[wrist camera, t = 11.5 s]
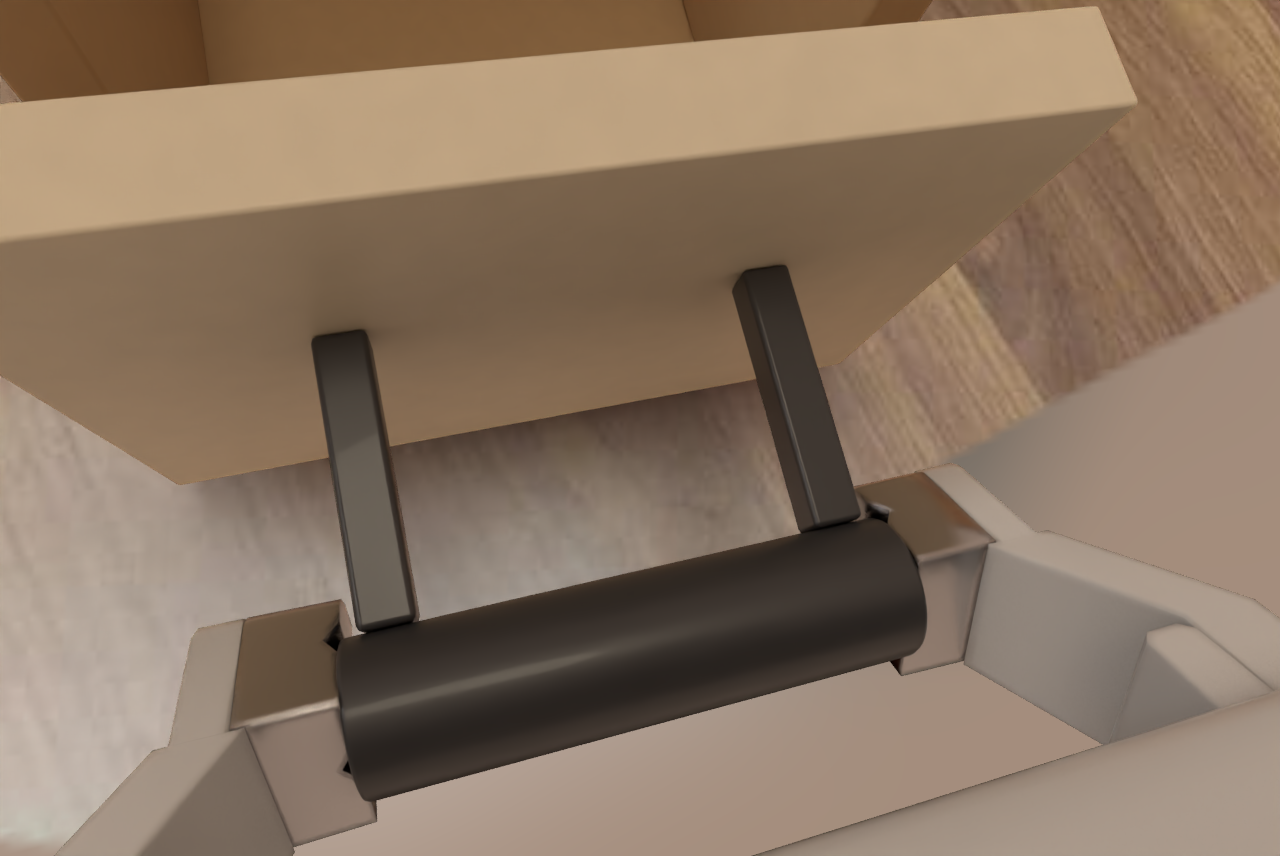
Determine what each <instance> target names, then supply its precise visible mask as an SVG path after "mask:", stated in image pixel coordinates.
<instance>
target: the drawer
mask: <svg viewBox="0 0 1280 856" xmlns="http://www.w3.org/2000/svg"><path fill="white" fill-rule="evenodd" d="M931 2H932V0H0V75H1V76H2V78H3V79H4V80H5V81H6V83H7V84H8V85H9V86H10V87H11V89H12V90H13V91H14V92H15V94H16V95H17V96H18V97H19V99H20V100H21V101H22V102H16V103H5V104H0V376H2V377H3V378H5V379H7V380H8V381H10V382H12V383H13V384H15V385H17V386H18V387H20V388H21V389H23V390H25V391H26V392H28V393H30V394H31V395H33V396H34V397H36V398H38V399H39V400H41V401H43V402H44V403H46V404H48V405H49V406H51V407H52V408H54V409H56V410H57V411H59V412H61V413H62V414H64V415H65V416H67V417H69V418H70V419H72V420H74V421H75V422H77V423H78V424H80V425H82V426H83V427H85V428H87V429H88V430H90V431H92V432H93V433H95V434H96V435H98V436H100V437H101V438H103V439H105V440H106V441H108V442H109V443H111V444H113V445H114V446H116V447H118V448H119V449H121V450H122V451H124V452H126V453H127V454H129V455H131V456H132V457H134V458H136V459H137V460H139V461H140V462H142V463H144V464H145V465H147V466H149V467H150V468H152V469H153V470H155V471H157V472H158V473H160V474H162V475H163V476H165V477H166V478H168V479H170V480H171V481H173V482H175V483H176V484H178V485H183V484H189V483H194V482H200V481H205V480H210V479H216V478H221V477H227V476H232V475H238V474H243V473H248V472H254V471H259V470H265V469H270V468H276V467H281V466H287V465H292V464H297V463H303V462H308V461H314V460H319V459H325V458H329V461H330V467H331V474H332V480H333V486H334V492H335V498H336V505H337V511H338V517H339V523H340V530H341V536H342V542H343V548H344V555H345V561H346V567H347V573H348V579H349V586H350V592H351V598H352V604H353V611H354V617H355V623H356V627H357V628H358V630H359V631H361V632H364V634H360V635H356V636H351V637H347V638H344V639H343V640H341V641H340V642H339V645H338V650H337V657H336V680H337V686H338V690H339V700H340V708H341V709H340V720H341V727H342V733H343V738H344V744H345V749H346V753H347V758H348V762H349V766H350V770H351V773H352V777H353V780H354V783H355V786H356V788H357V790H358V792H359V794H360V796H361V797H362V799H363V800H364V801H367V802H372V801H376V800H380V799H383V798H387V797H391V796H395V795H398V794H402V793H405V792H409V791H413V790H417V789H420V788H424V787H428V786H431V785H435V784H439V783H442V782H446V781H449V780H453V779H457V778H461V777H465V776H468V775H472V774H476V773H479V772H483V771H487V770H490V769H494V768H498V767H501V766H505V765H509V764H512V763H516V762H520V761H524V760H527V759H531V758H534V757H538V756H542V755H546V754H549V753H553V752H557V751H560V750H564V749H567V748H571V747H575V746H578V745H582V744H586V743H590V742H594V741H597V740H601V739H604V738H608V737H612V736H616V735H619V734H623V733H626V732H630V731H634V730H637V729H641V728H645V727H649V726H652V725H656V724H660V723H664V722H667V721H670V720H675V719H678V718H681V717H685V716H689V715H693V714H697V713H700V712H704V711H708V710H711V709H715V708H719V707H722V706H726V705H729V704H733V703H737V702H741V701H745V700H748V699H752V698H756V697H759V696H763V695H766V694H770V693H774V692H777V691H781V690H785V689H789V688H792V687H796V686H800V685H804V684H807V683H810V682H814V681H818V680H822V679H825V678H829V677H833V676H837V675H840V674H844V673H847V672H851V671H855V670H859V669H862V668H866V667H869V666H873V665H877V664H881V663H884V662H888V661H892V660H896V659H899V658H903V657H907V656H910V655H912V654H914V653H915V652H916V651H917V650H918V649H919V648H920V647H921V645H922V644H923V641H924V639H925V635H926V631H927V605H926V598H925V593H924V588H923V585H922V581H921V578H920V575H919V572H918V569H917V566H916V564H915V562H914V559H913V557H912V555H911V553H910V551H909V550H908V548H907V546H906V544H905V543H904V542H903V540H902V539H901V537H900V536H899V535H898V534H897V532H896V531H895V530H894V529H893V528H892V527H891V526H889V525H888V524H887V523H885V522H883V521H882V520H879V519H875V518H866V519H862V520H858V521H854V520H856V519H858V518H859V517H860V516H861V511H860V507H859V504H858V501H857V497H856V494H855V491H854V487H853V484H852V481H851V477H850V474H849V471H848V467H847V464H846V461H845V457H844V454H843V451H842V447H841V444H840V441H839V437H838V434H837V431H836V427H835V424H834V421H833V417H832V414H831V410H830V407H829V404H828V400H827V397H826V394H825V390H824V387H823V384H822V380H821V377H820V374H819V370H818V368H820V367H825V366H830V365H836V364H839V363H841V362H842V361H843V360H844V359H845V358H846V357H848V356H849V355H850V354H851V353H852V352H853V351H855V350H856V349H857V348H858V347H859V346H860V345H861V344H863V343H864V342H865V341H866V340H867V339H868V338H869V337H871V336H872V335H873V334H874V333H875V332H876V331H877V330H879V329H880V328H881V327H882V326H883V325H884V324H886V323H887V322H888V321H889V320H890V319H891V318H892V317H894V316H895V315H896V314H897V313H898V312H899V311H900V310H902V309H903V308H904V307H905V306H906V305H907V304H909V303H910V302H911V301H912V300H913V299H914V298H915V297H917V296H918V295H919V294H920V293H921V292H922V291H923V290H925V289H926V288H927V287H928V286H929V285H930V284H932V283H933V282H934V281H935V280H936V279H937V278H938V277H940V276H941V275H942V274H943V273H944V272H945V271H946V270H948V269H949V268H950V267H951V266H952V265H953V264H955V263H956V262H957V261H958V260H959V259H960V258H961V257H963V256H964V255H965V254H966V253H967V252H968V251H969V250H971V249H972V248H973V247H974V246H975V245H976V244H978V243H979V242H980V241H981V240H982V239H983V238H984V237H986V236H987V235H988V234H989V233H990V232H991V231H992V230H994V229H995V228H996V227H997V226H998V225H999V224H1001V223H1002V222H1003V221H1004V220H1005V219H1006V218H1007V217H1009V216H1010V215H1011V214H1012V213H1013V212H1014V211H1015V210H1017V209H1018V208H1019V207H1020V206H1021V205H1022V204H1023V203H1025V202H1026V201H1027V200H1028V199H1029V198H1030V197H1032V196H1033V195H1034V194H1035V193H1036V192H1037V191H1038V190H1040V189H1041V188H1042V187H1043V186H1044V185H1045V184H1046V183H1048V182H1049V181H1050V180H1051V179H1052V178H1053V177H1055V176H1056V175H1057V174H1058V173H1059V172H1060V171H1061V170H1063V169H1064V168H1065V167H1066V166H1067V165H1068V164H1069V163H1071V162H1072V161H1073V160H1074V159H1075V158H1076V157H1078V156H1079V155H1080V154H1081V153H1082V152H1083V151H1084V150H1086V149H1087V148H1088V147H1089V146H1090V145H1091V144H1092V143H1094V142H1095V141H1096V140H1097V139H1098V138H1099V137H1101V136H1102V135H1103V134H1104V133H1105V132H1106V131H1107V130H1109V129H1110V128H1111V127H1112V126H1113V125H1114V124H1115V123H1117V122H1118V121H1119V120H1120V119H1121V118H1122V117H1124V116H1125V115H1126V114H1127V113H1128V112H1129V111H1130V110H1132V109H1133V108H1134V107H1135V106H1136V105H1137V98H1136V95H1135V93H1134V91H1133V88H1132V86H1131V83H1130V81H1129V79H1128V76H1127V74H1126V72H1125V69H1124V67H1123V64H1122V62H1121V60H1120V57H1119V55H1118V52H1117V50H1116V48H1115V45H1114V43H1113V40H1112V38H1111V36H1110V33H1109V31H1108V29H1107V26H1106V24H1105V21H1104V19H1103V17H1102V14H1101V12H1100V9H1099V8H1098V7H1097V6H1088V7H1077V8H1066V9H1055V10H1044V11H1032V12H1021V13H1010V14H999V15H988V16H977V17H965V18H954V19H943V20H932V21H921V22H918V21H919V20H920V18H921V17H922V15H923V14H924V12H925V11H926V9H927V8H928V6H929V5H930V3H931ZM754 379H757V383H758V387H759V390H760V394H761V397H762V401H763V404H764V408H765V411H766V415H767V419H768V422H769V426H770V429H771V433H772V436H773V440H774V443H775V447H776V450H777V454H778V458H779V461H780V465H781V468H782V472H783V475H784V479H785V482H786V486H787V490H788V493H789V497H790V500H791V504H792V507H793V511H794V514H795V518H796V522H797V525H798V529H799V531H800V532H801V534H797V535H792V536H788V537H783V538H779V539H775V540H770V541H766V542H762V543H757V544H753V545H749V546H744V547H740V548H735V549H731V550H727V551H722V552H718V553H714V554H709V555H705V556H701V557H696V558H692V559H687V560H683V561H679V562H674V563H670V564H666V565H661V566H657V567H653V568H648V569H644V570H639V571H635V572H631V573H626V574H622V575H618V576H613V577H609V578H605V579H600V580H596V581H591V582H587V583H583V584H578V585H574V586H570V587H565V588H561V589H557V590H552V591H548V592H543V593H539V594H535V595H530V596H526V597H522V598H517V599H513V600H509V601H504V602H500V603H495V604H491V605H487V606H482V607H478V608H474V609H469V610H465V611H461V612H456V613H452V614H447V615H443V616H439V617H434V618H430V619H426V620H421V621H419V617H420V613H419V607H418V602H417V596H416V590H415V585H414V579H413V573H412V568H411V562H410V556H409V551H408V545H407V540H406V534H405V528H404V523H403V517H402V511H401V506H400V500H399V494H398V489H397V483H396V477H395V472H394V466H393V461H392V455H391V449H390V446H395V445H401V444H406V443H412V442H417V441H423V440H428V439H433V438H439V437H444V436H450V435H455V434H461V433H466V432H471V431H477V430H482V429H488V428H493V427H499V426H504V425H510V424H515V423H520V422H526V421H531V420H537V419H542V418H548V417H553V416H558V415H564V414H569V413H575V412H580V411H586V410H591V409H597V408H602V407H607V406H613V405H618V404H624V403H629V402H635V401H640V400H645V399H651V398H656V397H662V396H667V395H673V394H678V393H684V392H689V391H694V390H700V389H705V388H711V387H716V386H722V385H727V384H733V383H738V382H743V381H749V380H754ZM851 521H853V522H851Z"/></svg>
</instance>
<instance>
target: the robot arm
mask: <svg viewBox="0 0 1280 856" xmlns="http://www.w3.org/2000/svg"><path fill="white" fill-rule="evenodd" d="M853 487H854V491H855V494H856V497H857V501H858V504H859V507H860V511H861V516H860V517H859V518H858V519H856V520H854V521H858V520H862V519H866V518H875V519H879V520H882V521H883V522H885V523H887V524H888V525H889V526H891V527H892V528H893V529H894V530H895V531H896V532H897V534H898V535H899V536H900V537H901V539H902V540H903V542H904V543H905V544H906V546H907V548H908V550H909V551H910V553H911V555H912V557H913V559H914V562H915V564H916V566H917V569H918V572H919V575H920V578H921V581H922V585H923V588H924V593H925V598H926V605H927V631H926V635H925V639H924V641H923V644H922V645H921V647H920V648H919V649H918V650H917V651H916V652H915V653H914V654H912V655H910V656H907V657H903V658H899V659H896V660H892V661H890V662H891V663H892V665H893V666H894V667H895V669H896V670H897V671H898V673H899V674H900V675H901V676H904V675H908V674H912V673H916V672H920V671H924V670H928V669H932V668H936V667H941V666H945V665H949V664H953V663H957V662H960V661H964V665H966V666H968V667H969V668H971V669H973V670H975V671H976V672H978V673H980V674H982V675H983V676H985V677H987V678H988V679H990V680H992V681H994V682H996V683H997V684H999V685H1001V686H1003V687H1004V688H1006V689H1008V690H1009V691H1011V692H1013V693H1015V694H1016V695H1018V696H1020V697H1022V698H1023V699H1025V700H1027V701H1028V702H1030V703H1032V704H1034V705H1035V706H1037V707H1039V708H1041V709H1042V710H1044V711H1046V712H1047V713H1049V714H1051V715H1053V716H1054V717H1056V718H1058V719H1059V720H1061V721H1063V722H1065V723H1067V724H1068V725H1070V726H1072V727H1073V728H1075V729H1077V730H1079V731H1080V732H1082V733H1084V734H1085V735H1087V736H1089V737H1091V738H1092V739H1094V740H1096V741H1098V742H1099V743H1101V744H1103V745H1101V746H1098V747H1095V748H1092V749H1089V750H1085V751H1082V752H1079V753H1076V754H1073V755H1070V756H1066V757H1063V758H1060V759H1057V760H1054V761H1051V762H1048V763H1044V764H1041V765H1038V766H1035V767H1032V768H1029V769H1026V770H1023V771H1019V772H1016V773H1013V774H1010V775H1006V776H1003V777H1000V778H997V779H994V780H991V781H988V782H985V783H981V784H978V785H975V786H972V787H968V788H965V789H962V790H959V791H956V792H953V793H950V794H946V795H943V796H940V797H937V798H934V799H931V800H928V801H925V802H921V803H918V804H915V805H912V806H909V807H905V808H902V809H899V810H896V811H893V812H889V813H886V814H883V815H880V816H877V817H874V818H871V819H867V820H864V821H861V822H858V823H855V824H851V825H849V826H845V827H842V828H839V829H836V830H832V831H829V832H826V833H823V834H820V835H817V836H814V837H810V838H808V839H804V840H801V841H798V842H794V843H792V844H788V845H785V846H782V847H779V848H775V849H772V850H769V851H766V852H763V853H760V854H756V855H753V856H1280V618H1279V617H1278V616H1276V615H1275V614H1274V613H1272V612H1271V611H1270V610H1268V609H1267V608H1266V607H1264V606H1263V605H1261V604H1260V603H1259V602H1258V601H1256V600H1255V599H1253V598H1250V597H1247V596H1244V595H1240V594H1238V593H1235V592H1232V591H1229V590H1226V589H1223V588H1220V587H1216V586H1213V585H1211V584H1208V583H1204V582H1201V581H1199V580H1195V579H1193V578H1190V577H1187V576H1184V575H1181V574H1178V573H1174V572H1171V571H1168V570H1165V569H1162V568H1159V567H1156V566H1153V565H1150V564H1147V563H1144V562H1141V561H1138V560H1135V559H1132V558H1129V557H1126V556H1123V555H1120V554H1117V553H1114V552H1111V551H1108V550H1105V549H1102V548H1099V547H1096V546H1093V545H1090V544H1087V543H1084V542H1081V541H1078V540H1075V539H1072V538H1069V537H1066V536H1063V535H1060V534H1057V533H1054V532H1051V531H1048V530H1046V531H1042V532H1038V533H1036V532H1035V531H1034V530H1033V529H1031V527H1029V526H1028V525H1027V524H1026V523H1025V522H1024V521H1022V520H1021V519H1020V518H1019V517H1018V516H1017V515H1016V514H1015V513H1014V512H1012V511H1011V510H1010V509H1009V508H1008V507H1007V506H1006V505H1004V504H1003V503H1002V502H1001V501H1000V500H999V499H998V498H996V497H995V496H994V495H993V494H992V493H991V492H989V491H988V490H987V489H986V488H985V487H984V486H983V485H982V484H980V483H979V482H978V481H977V480H976V479H975V478H974V477H972V476H971V475H970V474H969V473H968V472H967V471H966V470H964V469H963V468H962V467H961V466H959V465H956V464H952V463H947V464H943V465H939V466H935V467H931V468H927V469H923V470H919V471H915V472H914V473H911V474H906V475H902V476H897V477H893V478H889V479H884V480H880V481H875V482H871V483H866V484H862V485H858V486H853ZM851 522H853V521H851ZM351 636H352V624H351V621H350V618H349V615H348V612H347V609H346V606H345V603H344V602H343V601H342V600H341V599H339V600H334V601H329V602H324V603H319V604H314V605H309V606H304V607H299V608H293V609H288V610H283V611H278V612H273V613H268V614H263V615H258V616H253V617H248V618H247V619H241V620H236V621H231V622H226V623H222V624H217V625H212V626H207V627H202V628H198V629H197V631H196V632H195V633H194V635H193V636H192V638H191V640H190V644H189V649H188V654H187V659H186V663H185V668H184V673H183V678H182V682H181V687H180V692H179V697H178V701H177V706H176V711H175V716H174V721H173V725H172V730H171V735H170V740H169V744H168V747H164V748H160V749H157V750H153V751H152V752H151V753H150V754H149V755H148V756H147V757H146V758H145V759H144V760H143V761H142V762H141V763H140V764H139V766H138V767H137V768H136V769H135V770H134V771H133V772H132V773H131V774H130V775H129V776H128V777H127V778H126V779H125V780H124V782H123V783H122V784H121V785H120V786H119V787H118V788H117V789H116V790H115V791H114V792H113V793H112V794H111V795H110V796H109V798H108V799H107V800H106V801H105V802H104V803H103V804H102V805H101V806H100V807H99V808H98V809H97V810H96V811H95V812H94V814H93V815H92V816H91V817H90V818H89V819H88V820H87V821H86V822H85V823H84V824H83V825H82V826H81V827H80V828H79V829H78V831H77V832H76V833H75V834H74V835H73V836H72V837H71V838H70V839H69V840H68V841H67V842H66V843H65V844H64V845H63V847H62V848H61V849H60V850H59V851H58V852H57V853H56V854H55V855H54V856H293V854H294V852H295V851H294V849H293V847H296V846H299V845H303V844H306V843H309V842H312V841H316V840H319V839H322V838H325V837H329V836H332V835H335V834H339V833H342V832H345V831H348V830H352V829H355V828H358V827H362V826H364V825H368V824H371V823H374V822H377V806H376V801H372V802H367V801H364V800H363V799H362V797H361V796H360V794H359V792H358V790H357V788H356V786H355V783H354V780H353V777H352V773H351V770H350V766H349V762H348V758H347V753H346V749H345V744H344V738H343V733H342V727H341V720H340V709H341V708H340V700H339V690H338V686H337V680H336V657H337V650H338V645H339V642H340V641H341V640H343V639H344V638H347V637H351Z"/></svg>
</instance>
